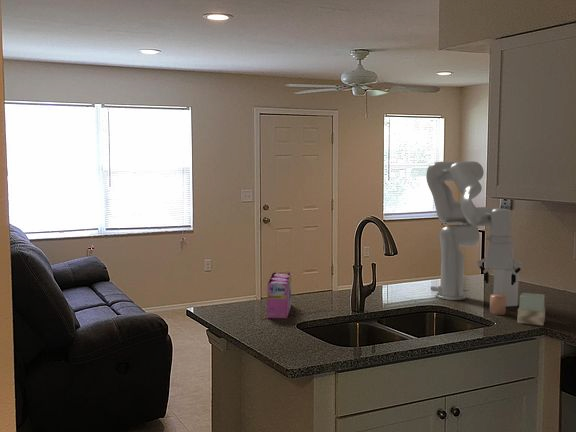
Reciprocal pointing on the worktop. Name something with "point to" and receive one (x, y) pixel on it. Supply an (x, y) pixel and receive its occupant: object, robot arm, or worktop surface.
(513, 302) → the milk carton
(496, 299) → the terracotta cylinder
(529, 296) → the sage block
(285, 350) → the worktop surface
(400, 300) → the worktop surface
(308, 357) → the worktop surface
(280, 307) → the gum box
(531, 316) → the birch block
